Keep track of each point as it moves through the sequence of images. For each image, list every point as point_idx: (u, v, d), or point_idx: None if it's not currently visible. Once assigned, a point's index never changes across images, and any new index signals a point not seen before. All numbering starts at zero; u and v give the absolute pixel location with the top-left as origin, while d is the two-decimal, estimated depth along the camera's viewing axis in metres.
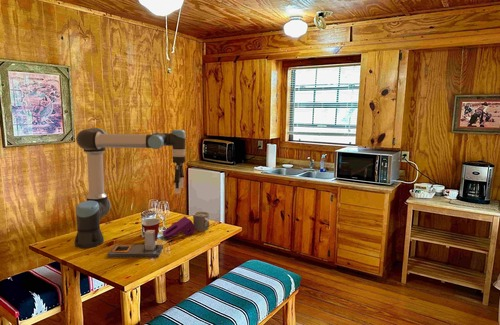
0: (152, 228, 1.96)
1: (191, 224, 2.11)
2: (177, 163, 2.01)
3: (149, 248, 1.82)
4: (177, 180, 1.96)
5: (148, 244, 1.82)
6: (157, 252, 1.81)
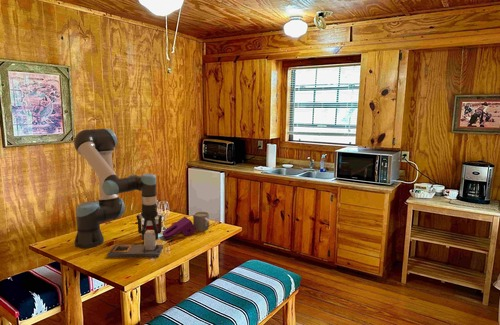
0: (152, 228, 1.96)
1: (191, 224, 2.10)
2: None
3: (149, 248, 1.82)
4: None
5: (148, 244, 1.82)
6: (157, 252, 1.81)
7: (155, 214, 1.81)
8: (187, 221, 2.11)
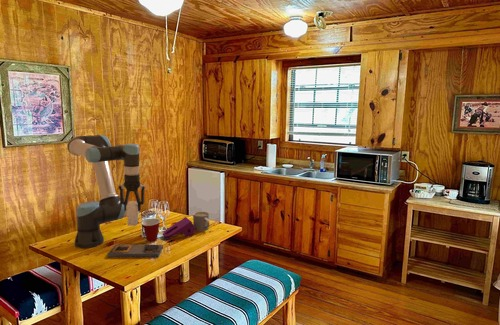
0: (152, 228, 1.96)
1: (191, 225, 2.09)
2: None
3: (131, 219, 1.80)
4: None
5: (131, 215, 1.80)
6: (157, 252, 1.81)
7: (138, 185, 1.78)
8: (187, 222, 2.10)
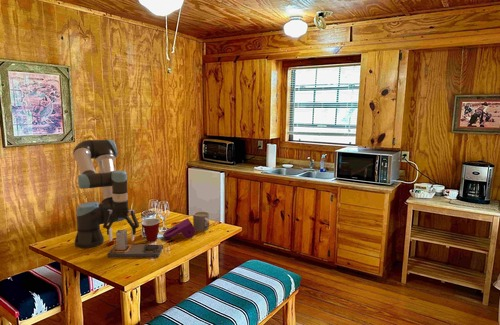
0: (152, 228, 1.96)
1: (192, 227, 2.07)
2: None
3: (120, 248, 1.82)
4: None
5: (120, 244, 1.81)
6: (157, 252, 1.81)
7: (126, 211, 1.80)
8: (188, 223, 2.07)
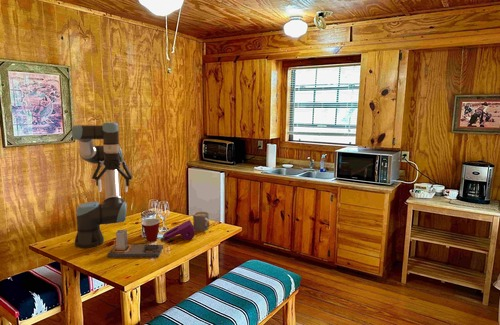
0: (152, 228, 1.96)
1: (191, 228, 2.03)
2: None
3: (120, 248, 1.82)
4: None
5: (120, 244, 1.81)
6: (157, 252, 1.81)
7: (117, 163, 1.79)
8: (187, 225, 2.04)
